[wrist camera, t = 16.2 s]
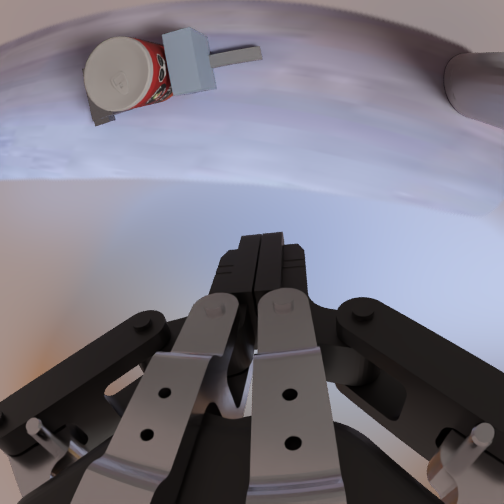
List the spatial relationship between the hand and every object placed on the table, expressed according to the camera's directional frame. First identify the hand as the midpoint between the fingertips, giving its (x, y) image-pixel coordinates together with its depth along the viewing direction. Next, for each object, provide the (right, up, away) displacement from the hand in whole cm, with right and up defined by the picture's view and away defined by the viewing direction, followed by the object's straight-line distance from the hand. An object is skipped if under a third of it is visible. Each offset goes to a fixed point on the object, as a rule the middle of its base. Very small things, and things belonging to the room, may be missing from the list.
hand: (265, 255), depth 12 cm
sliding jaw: (-4, +23, +21) cm, 31 cm away
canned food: (-12, +23, +22) cm, 34 cm away
